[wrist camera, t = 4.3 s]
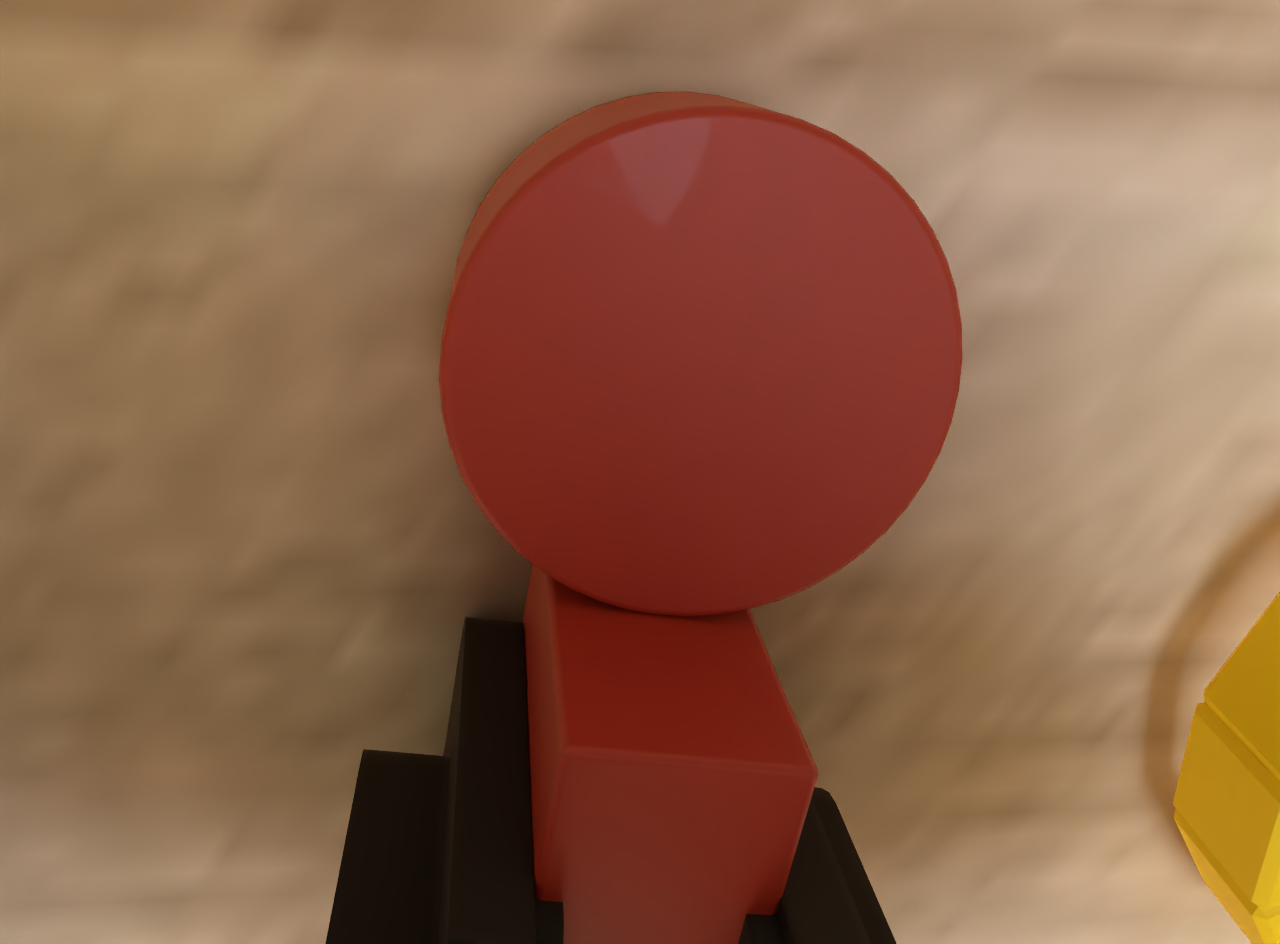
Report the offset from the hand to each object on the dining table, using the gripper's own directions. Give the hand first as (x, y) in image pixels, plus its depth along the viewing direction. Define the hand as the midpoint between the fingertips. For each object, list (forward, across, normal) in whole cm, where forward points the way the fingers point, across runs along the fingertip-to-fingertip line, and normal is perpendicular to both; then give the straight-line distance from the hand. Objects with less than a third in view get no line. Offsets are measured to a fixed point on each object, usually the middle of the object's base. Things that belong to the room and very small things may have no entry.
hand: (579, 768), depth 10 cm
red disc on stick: (0, 0, -2) cm, 2 cm away
